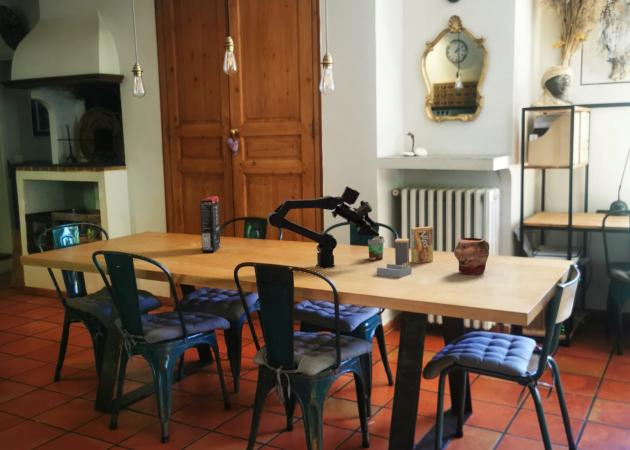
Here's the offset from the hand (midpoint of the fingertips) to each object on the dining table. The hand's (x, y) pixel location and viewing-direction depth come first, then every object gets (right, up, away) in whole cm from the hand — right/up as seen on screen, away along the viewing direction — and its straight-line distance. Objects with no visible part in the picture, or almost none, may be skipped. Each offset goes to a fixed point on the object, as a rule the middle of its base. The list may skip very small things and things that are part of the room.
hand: (377, 230), depth 293 cm
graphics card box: (-81, -11, +48) cm, 95 cm away
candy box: (+20, -14, 0) cm, 24 cm away
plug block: (+9, -16, -13) cm, 22 cm away
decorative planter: (+37, -17, -24) cm, 47 cm away
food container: (+1, -13, +9) cm, 16 cm away
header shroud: (+4, -18, -23) cm, 29 cm away
